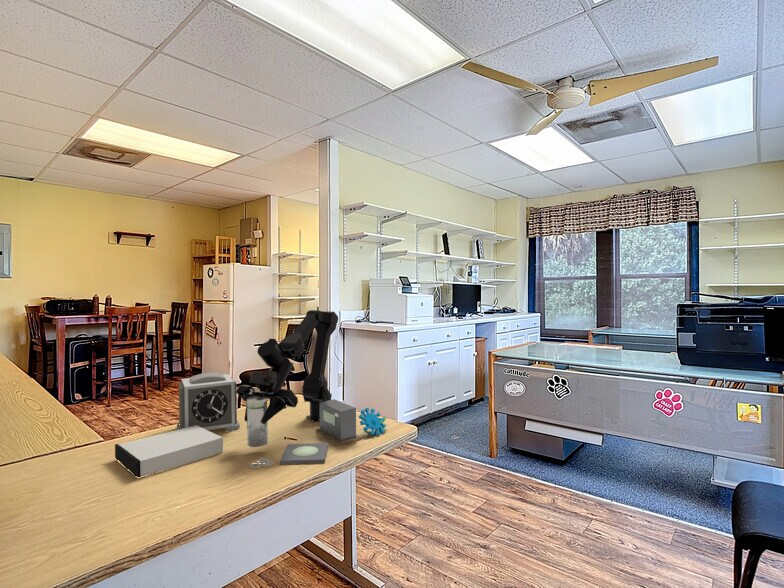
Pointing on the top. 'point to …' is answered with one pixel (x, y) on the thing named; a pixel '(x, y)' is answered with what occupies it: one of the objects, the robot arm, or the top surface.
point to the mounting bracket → (262, 460)
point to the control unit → (337, 422)
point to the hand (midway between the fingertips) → (254, 422)
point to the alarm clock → (208, 402)
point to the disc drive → (168, 450)
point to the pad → (304, 453)
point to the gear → (372, 421)
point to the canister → (256, 421)
